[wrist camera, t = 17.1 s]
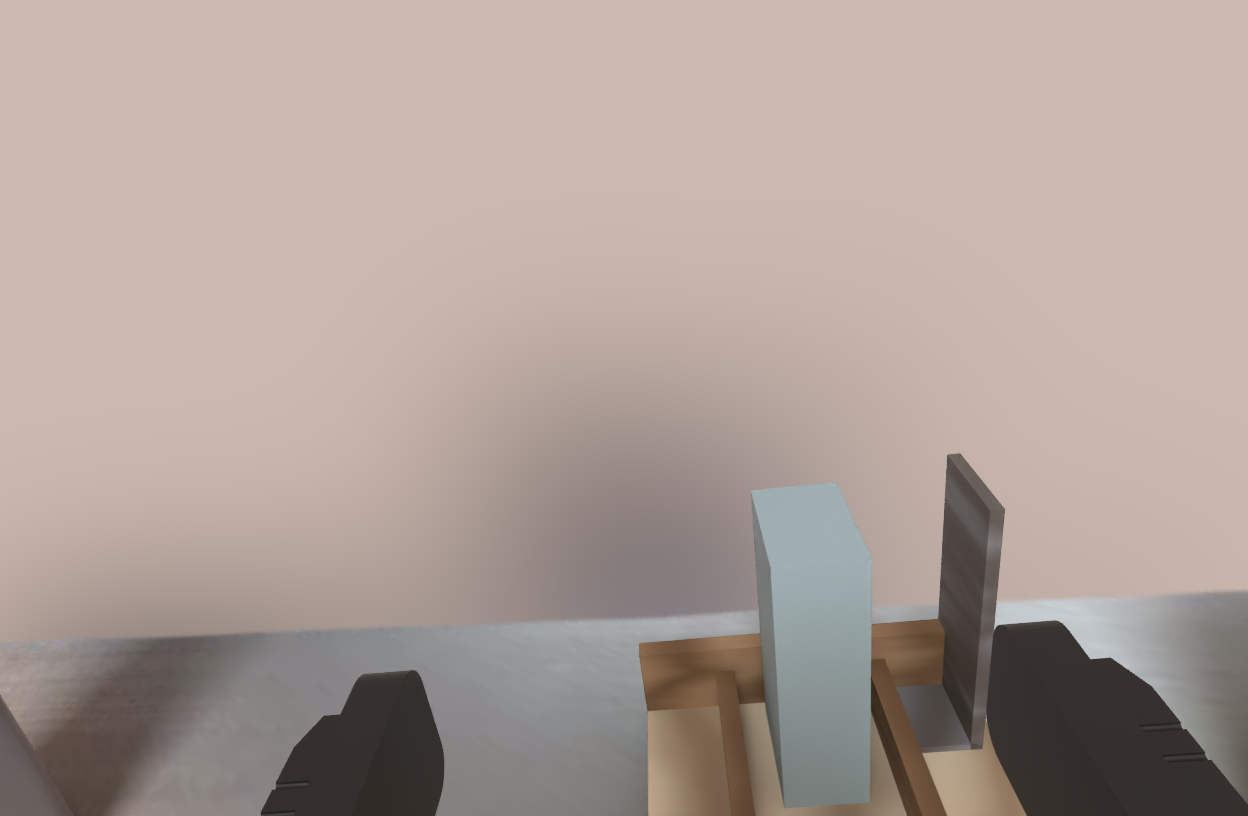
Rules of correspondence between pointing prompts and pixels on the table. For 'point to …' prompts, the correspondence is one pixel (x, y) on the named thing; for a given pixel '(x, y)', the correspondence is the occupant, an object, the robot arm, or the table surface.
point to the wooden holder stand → (900, 699)
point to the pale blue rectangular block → (815, 642)
